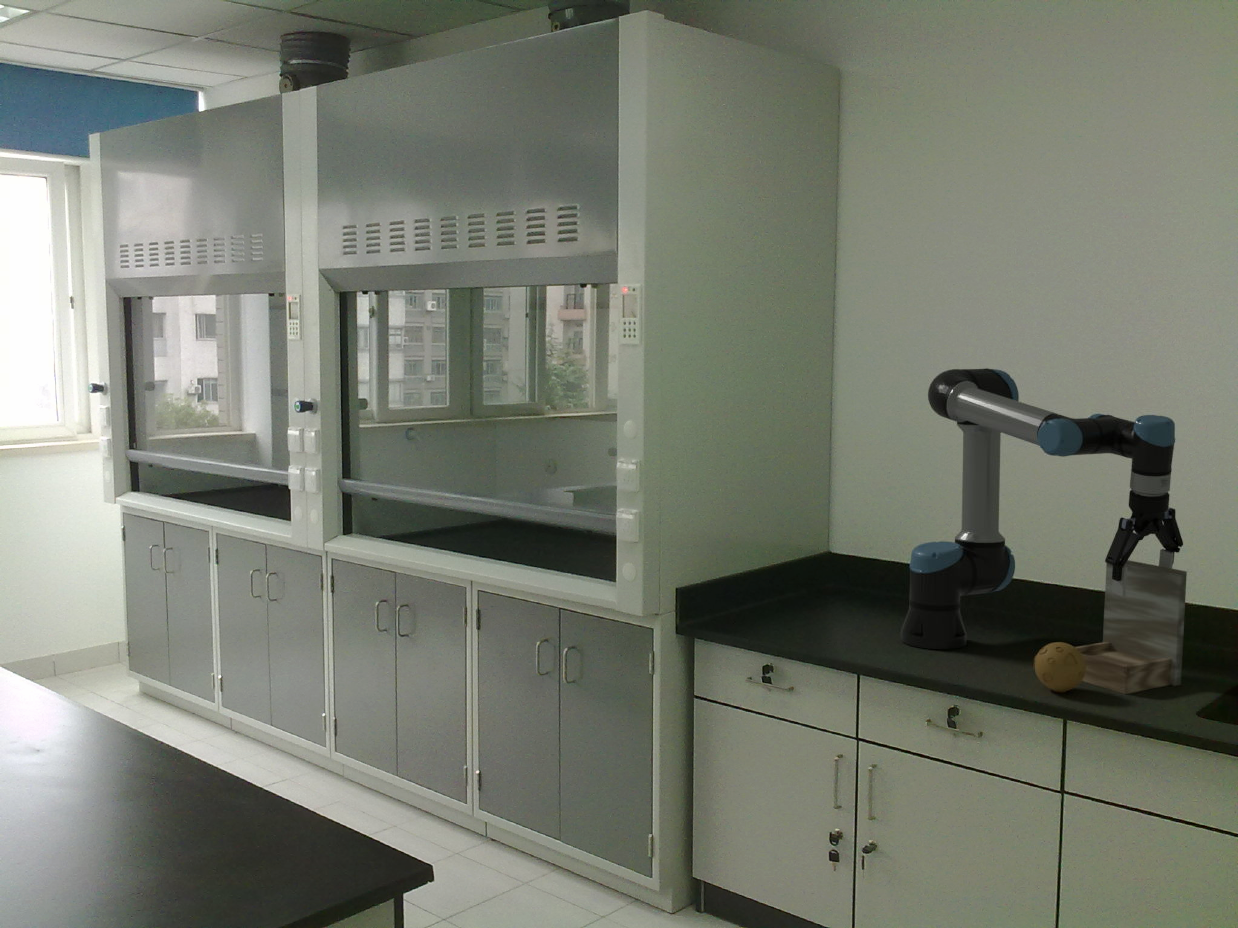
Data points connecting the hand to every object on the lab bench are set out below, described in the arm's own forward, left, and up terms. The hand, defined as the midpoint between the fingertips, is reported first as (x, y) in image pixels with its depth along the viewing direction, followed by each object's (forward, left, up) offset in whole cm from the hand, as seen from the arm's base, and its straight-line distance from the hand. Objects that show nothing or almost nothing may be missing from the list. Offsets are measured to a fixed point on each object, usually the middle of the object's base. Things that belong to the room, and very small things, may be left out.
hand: (1141, 586), depth 244 cm
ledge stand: (+1, -5, -20) cm, 20 cm away
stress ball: (+9, -20, -20) cm, 29 cm away
